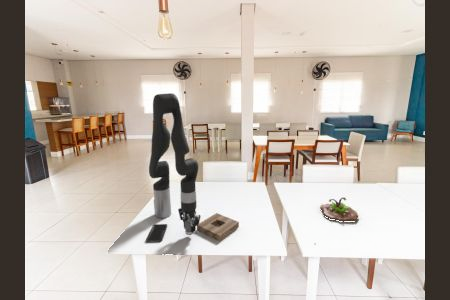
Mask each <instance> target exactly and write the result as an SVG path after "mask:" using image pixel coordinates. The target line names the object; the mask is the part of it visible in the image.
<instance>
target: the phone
mask: <svg viewBox="0 0 450 300" xmlns="http://www.w3.org/2000/svg"><path fill="white" fill-rule="evenodd" d="M167 228H168V224H167V223H161V224H157V223H156V224H153V225H152V226H151V229H150V230H149V233H148V235H147V237H146V240H145V242H146V243H161V242H162V241H163V239H164V237H165V234H166V231H167Z"/></svg>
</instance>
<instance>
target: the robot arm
mask: <svg viewBox="0 0 450 300" xmlns="http://www.w3.org/2000/svg"><path fill="white" fill-rule="evenodd" d="M180 105H181V104H180V101H179V98H178V96H177V95H176V94H175V93H158V94H155V95H154V96H153V101H152V115H153V116H152V117H153V118H152V119H153V120H152V134H151V135H152V136H151V152H150V153H151V154H150V159H149V166H148V174H149V177H150V178H151V179H159V180H157V181H155V182H154V183H153V185H152V188H153V189H152V190H153V207H154V215H155V217H156V218H159V219H165V218H168V217H170V216H171V214H172V204H171V191H170V188H171V187H170V166H169V165H170V164H169V163H168V161H167V160H162V161H161V160H160V159H162V157H163V156H164V155H165V153H166V152H167V151H168V149H169V148H170V144H171V146H172V149H173V151H174V162H175V164H174V165H175V171H176V172H177V173H178V175H179V176H180V177H181V176H183V178H181V180H180V208H178V209H177V210H178V211H177V212H178V215H179V219H180V221H182V222H183V228H184V230H185V220H186V219H189V222H190V223H191V232H192V233H193V232H194V233H195V232H196V230H197V225H199V223H200V221H201V216H202V215H200V214H197V211H196V209H197V207H198V206H197V191H196V181H197V176H198V174H199V173H198V171H199V164H198V161H197V159H195V158H193V157H190V158H185V155H187V154H189V153H190V151H191V150H190V146H189V143H188V140H187V137H186V133H185V128H184V123H183V117H182V111H181V106H180ZM166 114H172V117H173V125H172V129H171V133H170V131H169V130H168V127H166V125H165V123H164V115H166ZM191 219H192V220H191ZM193 222H194V223H193ZM194 233H193V234H194Z"/></svg>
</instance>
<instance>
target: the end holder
mask: <svg viewBox="0 0 450 300" xmlns="http://www.w3.org/2000/svg"><path fill="white" fill-rule="evenodd" d="M217 225H218V226H217ZM239 226H240V222H239V221H237V220H235V219H233V218H231V217H228V216H225V215H222V214H221V213H218V212H216V213H214V214H212V215H211V216H209V217H207V218H206V219H204V220H203V221H201V222H199V225H197V226H196V230H197V231H198V232H200V233H203V234H205V235H206V236H209V237H211V238H213V239H214V240H215V239H216V240H217V241H219V242H220V241H222V240H224V239H225V238H226V237H228V236H229V235H230V234H231V233H233V232H234V231H236V230H237V229H238V228H239Z"/></svg>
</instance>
